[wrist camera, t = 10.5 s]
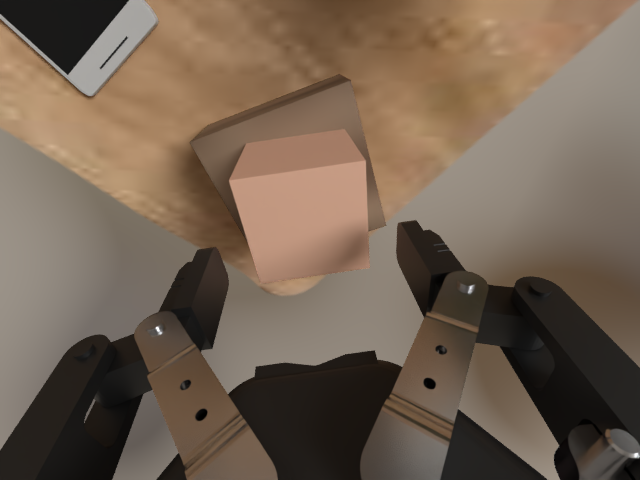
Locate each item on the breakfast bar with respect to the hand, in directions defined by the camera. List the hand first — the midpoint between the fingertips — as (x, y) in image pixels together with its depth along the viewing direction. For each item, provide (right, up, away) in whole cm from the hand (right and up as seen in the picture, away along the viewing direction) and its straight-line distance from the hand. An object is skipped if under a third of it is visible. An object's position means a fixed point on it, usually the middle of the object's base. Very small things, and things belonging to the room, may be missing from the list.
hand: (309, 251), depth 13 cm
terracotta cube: (-1, +4, +6) cm, 8 cm away
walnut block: (-1, +7, +11) cm, 13 cm away
